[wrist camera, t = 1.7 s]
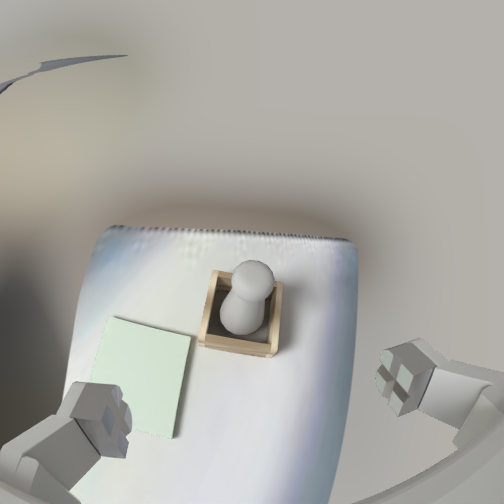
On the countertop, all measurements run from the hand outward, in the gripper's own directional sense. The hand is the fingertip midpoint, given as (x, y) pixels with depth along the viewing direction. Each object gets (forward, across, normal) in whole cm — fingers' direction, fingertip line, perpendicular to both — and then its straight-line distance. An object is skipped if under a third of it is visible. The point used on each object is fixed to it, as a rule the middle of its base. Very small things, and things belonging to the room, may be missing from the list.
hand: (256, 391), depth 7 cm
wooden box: (+28, -1, +13) cm, 31 cm away
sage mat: (+21, +13, +17) cm, 30 cm away
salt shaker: (+28, -1, +13) cm, 31 cm away
